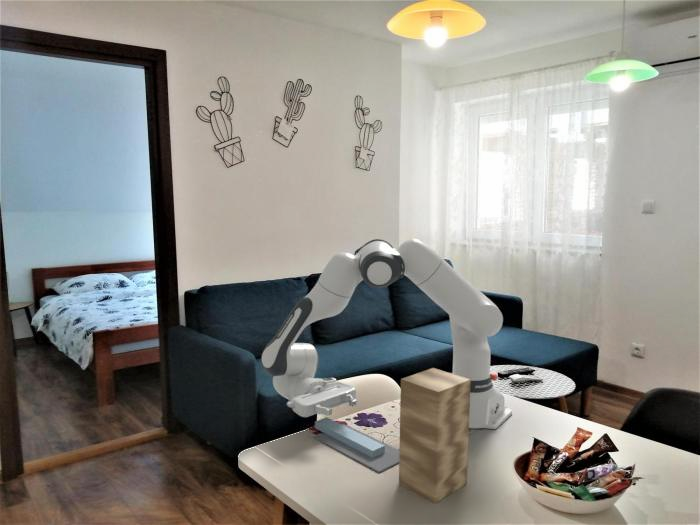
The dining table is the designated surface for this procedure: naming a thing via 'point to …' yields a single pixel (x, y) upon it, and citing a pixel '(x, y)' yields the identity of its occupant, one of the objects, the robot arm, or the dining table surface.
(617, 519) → the dining table surface
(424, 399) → the oak stand
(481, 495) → the dining table surface
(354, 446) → the slat
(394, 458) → the mat
